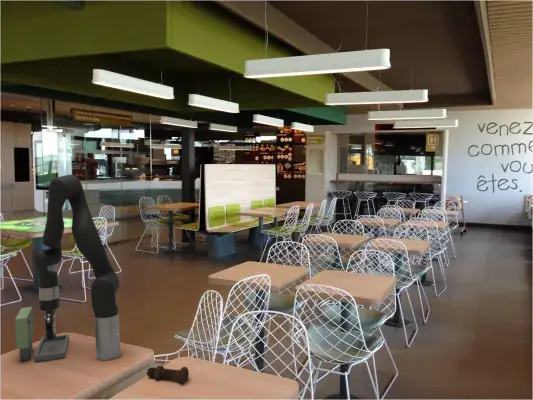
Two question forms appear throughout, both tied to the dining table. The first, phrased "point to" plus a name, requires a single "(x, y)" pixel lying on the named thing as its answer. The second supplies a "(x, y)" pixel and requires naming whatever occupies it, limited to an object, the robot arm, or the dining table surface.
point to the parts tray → (52, 349)
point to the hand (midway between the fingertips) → (51, 336)
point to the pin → (53, 332)
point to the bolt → (169, 373)
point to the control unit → (24, 333)
